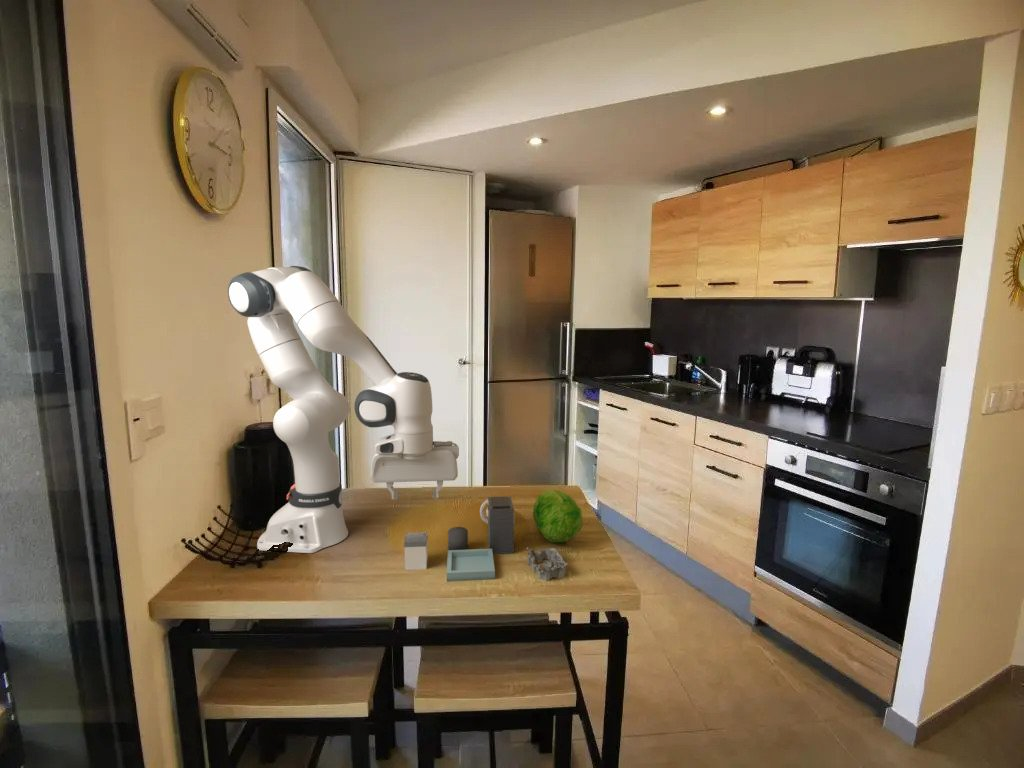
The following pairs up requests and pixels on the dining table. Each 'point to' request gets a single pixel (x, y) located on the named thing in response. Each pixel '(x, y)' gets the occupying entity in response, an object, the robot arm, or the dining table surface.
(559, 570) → the gray jagged ring
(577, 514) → the lettuce
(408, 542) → the cartridge
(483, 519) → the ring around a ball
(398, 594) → the dining table surface
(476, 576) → the tray
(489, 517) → the block
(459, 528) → the knob
